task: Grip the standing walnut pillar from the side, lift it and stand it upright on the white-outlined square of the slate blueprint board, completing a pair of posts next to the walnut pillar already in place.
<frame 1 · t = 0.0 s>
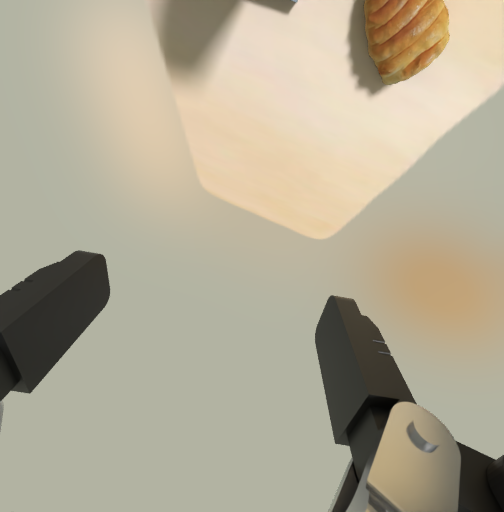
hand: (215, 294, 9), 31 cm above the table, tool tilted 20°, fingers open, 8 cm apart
pastry: (398, 29, 26), on the table
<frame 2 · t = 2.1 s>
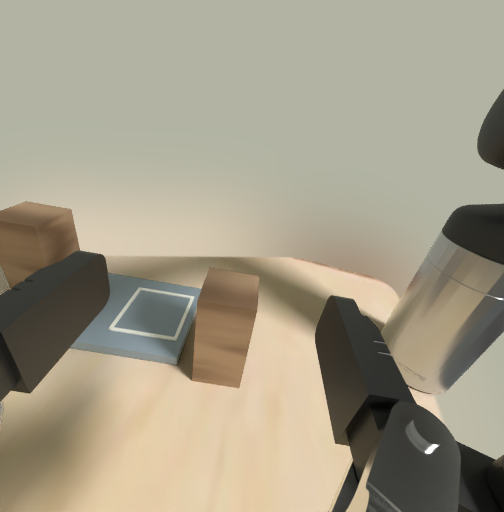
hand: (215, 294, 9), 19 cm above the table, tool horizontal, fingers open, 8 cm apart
blueprint board: (107, 310, 32), on the table
built pillar: (55, 295, 31), resting on blueprint board
pillar: (219, 363, 28), on the table
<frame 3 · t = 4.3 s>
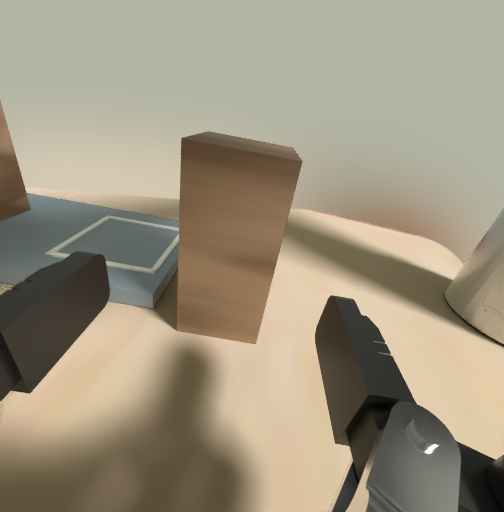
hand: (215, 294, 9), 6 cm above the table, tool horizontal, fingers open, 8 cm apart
blueprint board: (55, 240, 22), on the table
pillar: (222, 310, 18), on the table
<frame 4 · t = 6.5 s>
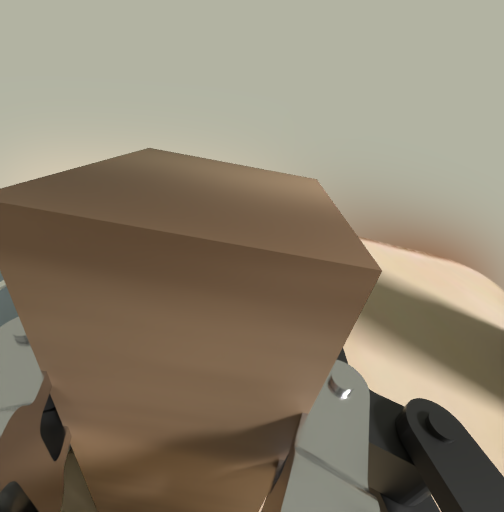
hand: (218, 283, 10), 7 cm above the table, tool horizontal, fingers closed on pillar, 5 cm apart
pillar: (192, 441, 11), on the table, touching gripper
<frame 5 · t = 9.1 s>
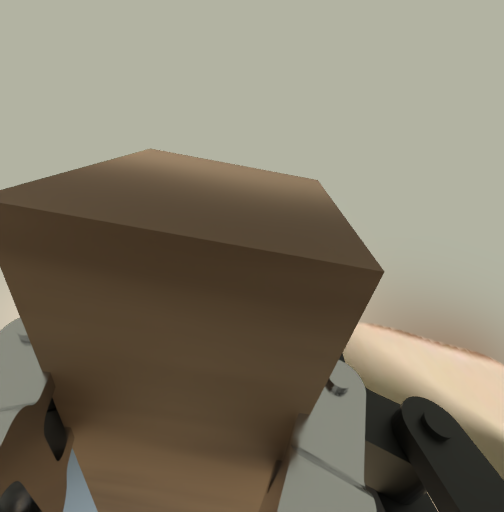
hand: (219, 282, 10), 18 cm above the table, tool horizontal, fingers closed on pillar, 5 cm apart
blueprint board: (89, 504, 16), on the table
pillar: (193, 442, 11), point 11 cm above the table, touching gripper
when the fingers open (9 cm above the table, at t = 11.6 s): pillar drops 1 cm, resting on blueprint board.
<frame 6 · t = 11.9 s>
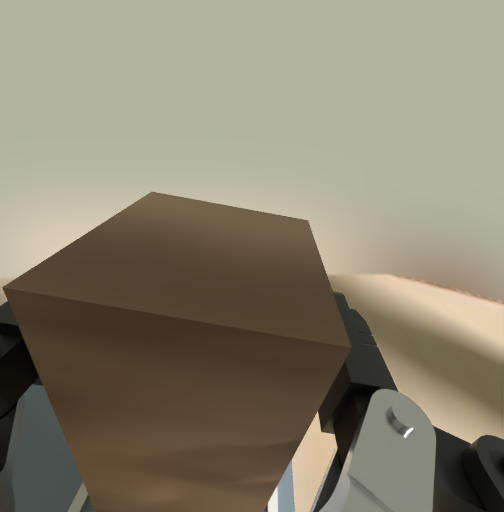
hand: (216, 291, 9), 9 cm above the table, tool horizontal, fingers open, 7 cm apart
blueprint board: (55, 446, 12), on the table
pillar: (192, 458, 11), point 1 cm above the table, touching blueprint board
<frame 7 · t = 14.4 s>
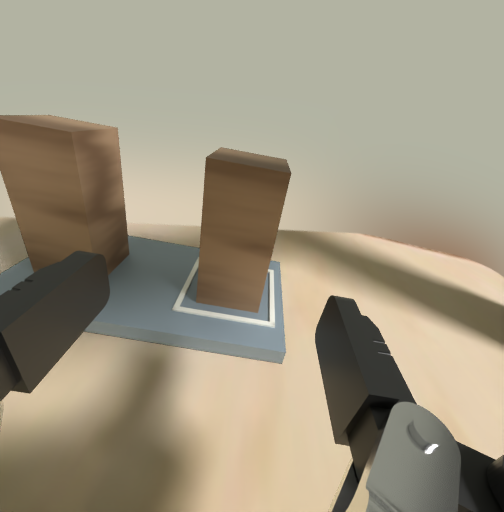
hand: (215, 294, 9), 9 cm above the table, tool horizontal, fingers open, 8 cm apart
blueprint board: (159, 286, 23), on the table
built pillar: (86, 263, 22), resting on blueprint board
pillar: (231, 288, 22), point 1 cm above the table, touching blueprint board
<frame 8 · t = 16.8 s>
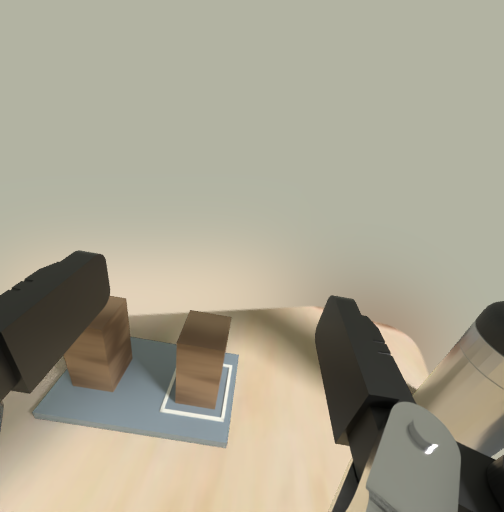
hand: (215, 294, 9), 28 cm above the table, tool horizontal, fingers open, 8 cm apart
blueprint board: (152, 384, 34), on the table
built pillar: (104, 371, 33), resting on blueprint board
pillar: (200, 387, 33), point 1 cm above the table, touching blueprint board
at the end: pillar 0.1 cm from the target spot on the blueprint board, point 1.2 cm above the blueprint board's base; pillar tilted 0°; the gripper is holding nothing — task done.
